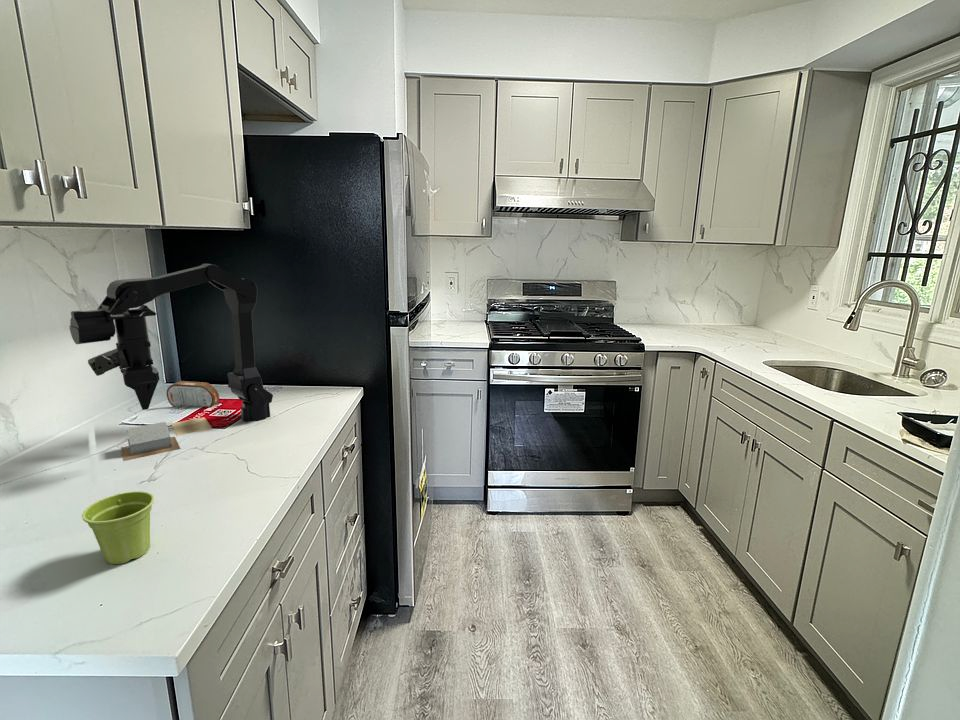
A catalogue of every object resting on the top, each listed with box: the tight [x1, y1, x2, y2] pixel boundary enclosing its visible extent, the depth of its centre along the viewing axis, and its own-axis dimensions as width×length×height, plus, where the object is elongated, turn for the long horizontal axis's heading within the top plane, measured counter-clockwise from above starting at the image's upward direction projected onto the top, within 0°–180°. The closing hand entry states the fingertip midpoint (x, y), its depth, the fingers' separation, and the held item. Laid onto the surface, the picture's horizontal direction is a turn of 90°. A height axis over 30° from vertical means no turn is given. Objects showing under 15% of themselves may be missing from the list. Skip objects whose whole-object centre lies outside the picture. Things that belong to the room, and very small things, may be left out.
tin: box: [166, 380, 220, 408], centre depth 146 cm, size 15×3×8 cm, turn 84°
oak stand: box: [170, 416, 213, 436], centre depth 130 cm, size 8×10×2 cm
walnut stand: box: [120, 436, 182, 462], centre depth 117 cm, size 11×9×2 cm
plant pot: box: [81, 490, 155, 565], centre depth 80 cm, size 9×9×9 cm
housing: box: [126, 421, 172, 456], centre depth 116 cm, size 5×8×5 cm, turn 129°
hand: (143, 403), depth 114 cm, fingers open, 9 cm apart
